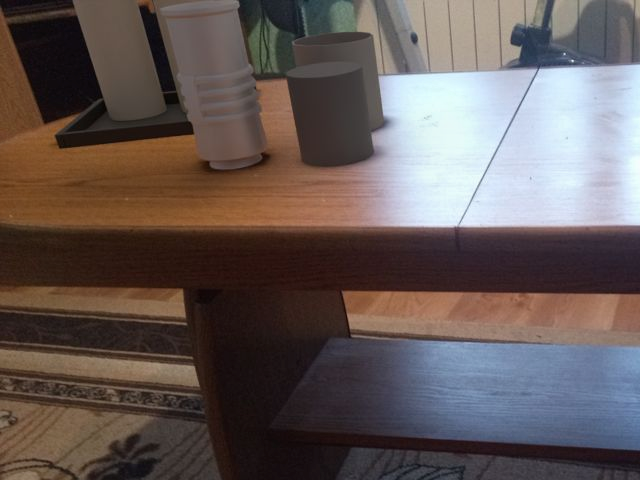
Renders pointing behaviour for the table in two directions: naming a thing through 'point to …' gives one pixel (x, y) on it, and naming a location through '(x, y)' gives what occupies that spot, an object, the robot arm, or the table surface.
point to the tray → (124, 125)
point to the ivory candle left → (121, 58)
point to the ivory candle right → (160, 2)
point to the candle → (217, 82)
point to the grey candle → (330, 113)
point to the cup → (346, 50)
